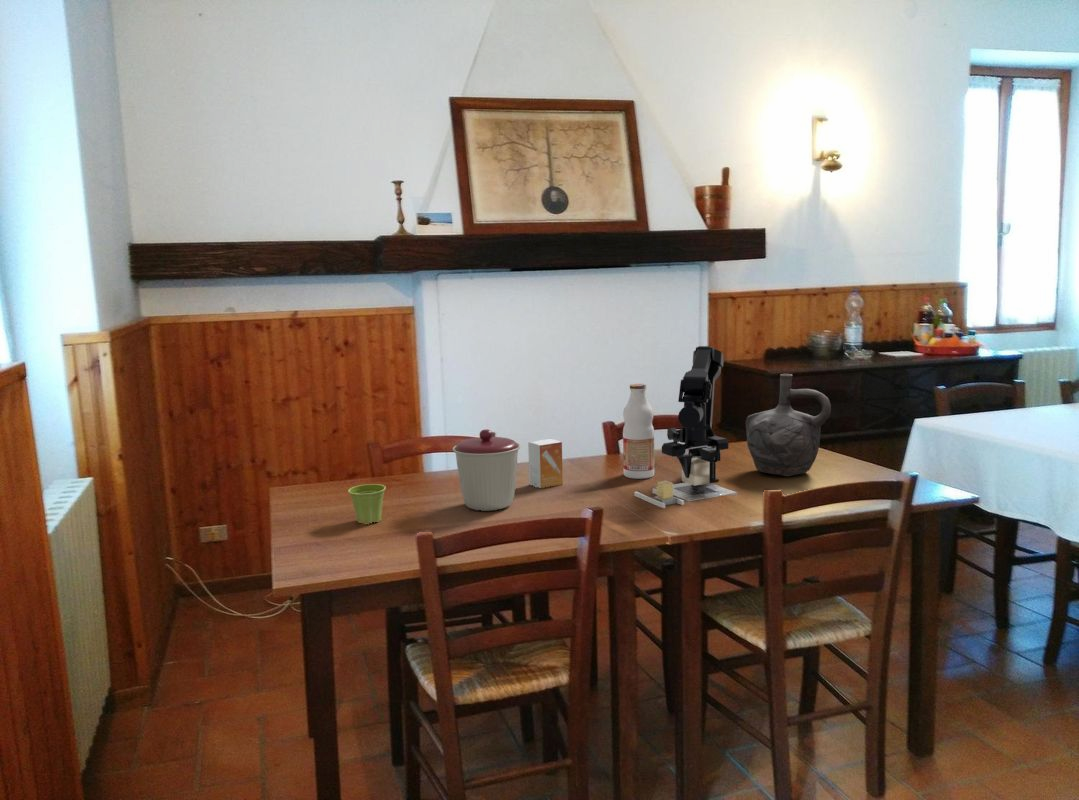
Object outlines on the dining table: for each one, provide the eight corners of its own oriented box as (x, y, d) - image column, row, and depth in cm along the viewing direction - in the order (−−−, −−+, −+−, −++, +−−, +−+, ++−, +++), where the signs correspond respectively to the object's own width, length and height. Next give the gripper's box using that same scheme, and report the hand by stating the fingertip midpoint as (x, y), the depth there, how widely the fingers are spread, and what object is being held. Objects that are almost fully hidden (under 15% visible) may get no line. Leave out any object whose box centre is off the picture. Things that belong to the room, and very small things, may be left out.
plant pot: (380, 527, 207) (377, 493, 205) (344, 526, 208) (342, 493, 207) (392, 516, 216) (390, 484, 214) (358, 515, 217) (356, 483, 216)
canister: (517, 494, 233) (514, 421, 230) (527, 512, 215) (524, 433, 212) (453, 499, 230) (449, 425, 227) (458, 518, 212) (454, 438, 209)
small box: (540, 489, 238) (539, 445, 236) (528, 484, 244) (527, 441, 241) (563, 484, 243) (562, 441, 241) (551, 480, 248) (550, 438, 246)
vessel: (828, 466, 255) (830, 370, 250) (829, 484, 234) (832, 379, 230) (747, 463, 262) (748, 369, 258) (742, 480, 242) (743, 378, 237)
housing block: (696, 478, 231) (696, 457, 231) (709, 483, 226) (709, 461, 225) (681, 480, 229) (681, 459, 228) (694, 485, 224) (694, 464, 223)
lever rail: (654, 496, 227) (654, 488, 227) (684, 508, 215) (684, 500, 214) (634, 499, 225) (634, 491, 224) (663, 512, 212) (663, 504, 212)
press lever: (667, 499, 220) (667, 479, 219) (676, 503, 216) (676, 483, 215) (653, 502, 218) (653, 481, 217) (662, 505, 214) (662, 485, 213)
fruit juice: (637, 481, 244) (636, 387, 240) (617, 475, 252) (615, 384, 248) (661, 475, 250) (660, 384, 245) (640, 470, 257) (639, 381, 253)
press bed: (701, 483, 239) (701, 479, 239) (736, 496, 224) (737, 492, 224) (654, 491, 232) (654, 487, 232) (688, 505, 218) (688, 500, 218)
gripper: (705, 413, 236) (705, 466, 239) (650, 420, 228) (650, 474, 231) (729, 419, 226) (729, 474, 229) (673, 426, 218) (673, 483, 221)
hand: (695, 476), depth 228 cm, fingers closed on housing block, 5 cm apart
